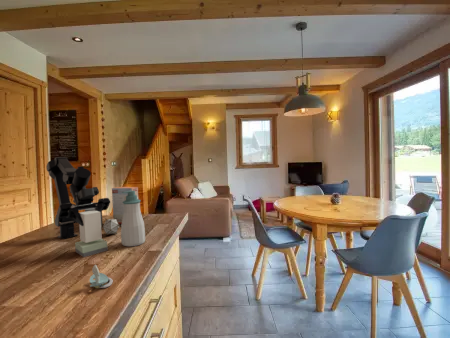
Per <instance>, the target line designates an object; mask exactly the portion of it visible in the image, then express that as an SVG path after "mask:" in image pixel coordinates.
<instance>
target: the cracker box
mask: <svg viewBox="0 0 450 338" xmlns="http://www.w3.org/2000/svg"><path fill="white" fill-rule="evenodd" d="M127 191H135V195H137V199H139V187H138V186H116V187H112V188H111V195H112V196H111V197H112V219H116V218H117V222H118V224H120V225H122V220H123V215H124V203H123V201H125V200H126V196H128V193H122V192H127Z"/></svg>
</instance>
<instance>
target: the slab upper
mask: <svg viewBox="0 0 450 338" xmlns="http://www.w3.org/2000/svg"><path fill="white" fill-rule="evenodd" d="M74 246H75V248H76V249H77V250H79V251H80V252H81V253H86V252H90V251H94V250H97V249H101V248H105V247H107V246H108V241H107V240H105V239H103V238H102V239H99V240H95V241H91V242H88V243H85V242H83V241H81V240H80V241H76V242H75V243H74Z"/></svg>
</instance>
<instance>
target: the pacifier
mask: <svg viewBox="0 0 450 338" xmlns="http://www.w3.org/2000/svg"><path fill="white" fill-rule="evenodd" d="M91 272H92V275H90V277H89V283H90V285H89V287H94V288H95V289H106V288H108V287H110V286H111V285H112V284H113V281H114V280H113V279H112V278H111V277H108V275H106V274H105V273H104V272H103V273H102V272H100V271H99V268H98V265H97V264H94V265H93V266H92V271H91Z"/></svg>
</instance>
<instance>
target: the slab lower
mask: <svg viewBox="0 0 450 338" xmlns="http://www.w3.org/2000/svg"><path fill="white" fill-rule="evenodd" d="M108 248H109V246H108V245H107V247H105V248H101V249H97V250H94V251H90V252H86V253H81V252H80V251H79V250H77V249H76V248H75V253H77V254H79V256H81V257H83V258H86V257H89V256H93V255H96V254H99V253H104V252H106V251H109V249H108Z"/></svg>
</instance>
